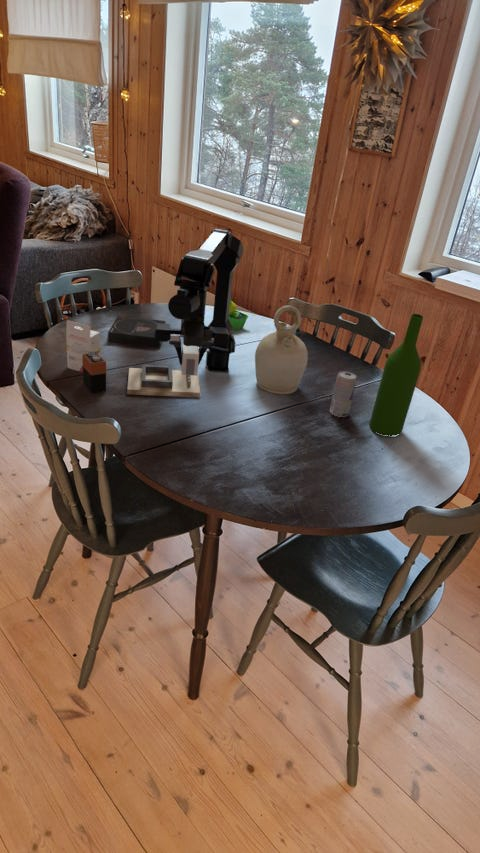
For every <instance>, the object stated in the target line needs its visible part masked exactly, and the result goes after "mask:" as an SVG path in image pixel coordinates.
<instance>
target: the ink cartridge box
mask: <svg viewBox="0 0 480 853" xmlns="http://www.w3.org/2000/svg"><path fill="white" fill-rule="evenodd" d="M91 328H92V327H91V325H87V324H83V323H80V322H76V321H72V320H69V319H67V320H66V331H65V339H66V358H67V359H66V361H67V362H66V363H67V365H66V366H67V368H68V369H70V370H73V371H76V372H77V371H78V372H80V373H83V358H82V355H83V354H88V353H89V352H90V351H93V352H95V353H98V354H99V355H100V356H101V332H100V331H96V330H92V329H91Z"/></svg>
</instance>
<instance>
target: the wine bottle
mask: <svg viewBox="0 0 480 853" xmlns="http://www.w3.org/2000/svg"><path fill="white" fill-rule="evenodd" d="M423 320H424V316H423V315H421V314H419V313H412V314H410V319H409V321H408V325H407V328H406V332H405V335H404V338H403V342H402V343H401V344H400V345H399V346H398V347H397V348H396V349H394V350H393V351H392V352H391V353H390V354H389V355H388V357H387V359H386V361H385V363H384V368H383V372H382V375H381V378H380V381H379V387H378V389H377V390H378V391H377V394H376V397H375V398H376V399H375V401H374V404H373V408H372V413H371V416H370V420H369V423H368V424H369V426H370V427H369V426H368V427H369V429H370V428H371V429H372V430H373V431H375V432H377V433H379V434H382V435H388V436H389V435H390V436H392V435H397V434H400V433H401V432H403V429H404V426H405V423H406V418H407V416H408V412H409V409H410V406H411V403H412V399H413V396H414V392H415V390H416V386H417V384H418V380H419V376H420V373H421V368H422V361H421V359H420V356H419V351H418V348H417V341H418V337H419V335H420V332H421V326H422V323H423ZM371 429H370V430H371ZM372 430H371V431H372ZM373 431H372V432H373ZM401 434H402V433H401ZM401 434H400V435H401Z"/></svg>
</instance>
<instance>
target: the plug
mask: <svg viewBox="0 0 480 853" xmlns="http://www.w3.org/2000/svg"><path fill="white" fill-rule="evenodd" d="M198 350H199V347H197V346H185V345H184V344H183V343H181V351H182V365H180V370H181V373H182V375H192V376H197V374H198V372H199V366H198V361H199V351H198Z"/></svg>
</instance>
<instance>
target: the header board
mask: <svg viewBox="0 0 480 853" xmlns="http://www.w3.org/2000/svg"><path fill="white" fill-rule="evenodd" d="M141 365H142V366H141V367H139V368H137V367H129V368H128V380H127V388H126V389H127V391H126V392H127V393H126V394H127V395H137V396H138V395H139V396H140V395H141V396H159V397H160V396H161V397H180V398H181V397H182V398H183V397H185V398H201V386H200V383H199V382H200V381H199V376H198V373H197V376H192V375H182V373H181V369H180V370H178V369H173V366H171V365H156V364H153V365H152V364H141Z"/></svg>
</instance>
